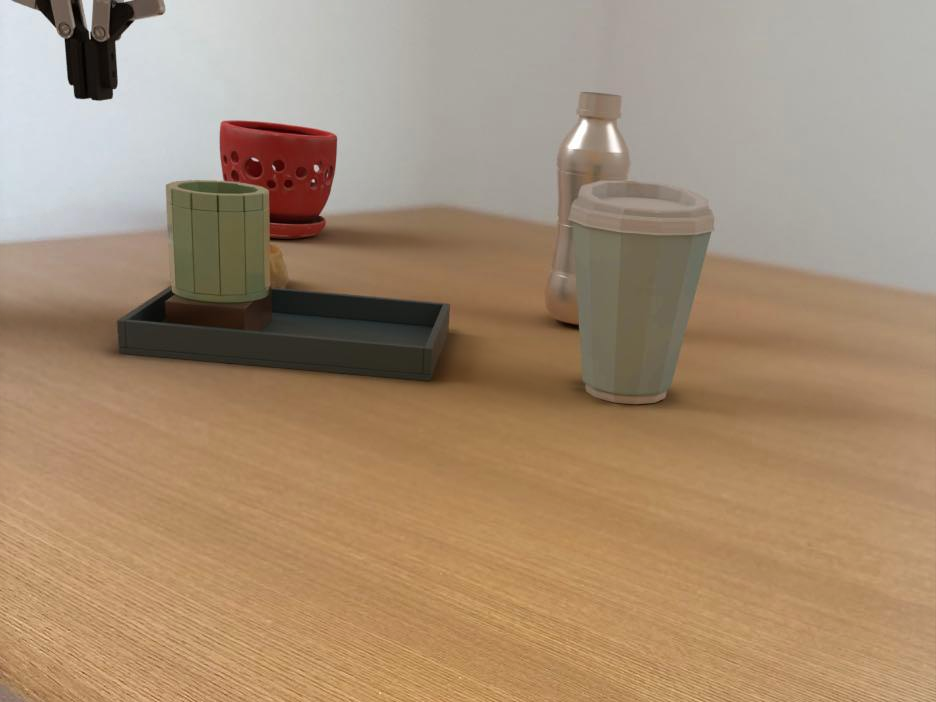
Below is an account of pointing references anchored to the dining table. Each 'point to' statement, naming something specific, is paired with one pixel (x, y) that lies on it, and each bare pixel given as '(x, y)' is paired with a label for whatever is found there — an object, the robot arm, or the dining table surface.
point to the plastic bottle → (579, 163)
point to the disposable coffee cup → (636, 283)
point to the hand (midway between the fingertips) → (94, 98)
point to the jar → (218, 240)
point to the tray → (304, 335)
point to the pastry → (277, 268)
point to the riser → (220, 313)
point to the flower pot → (282, 171)
